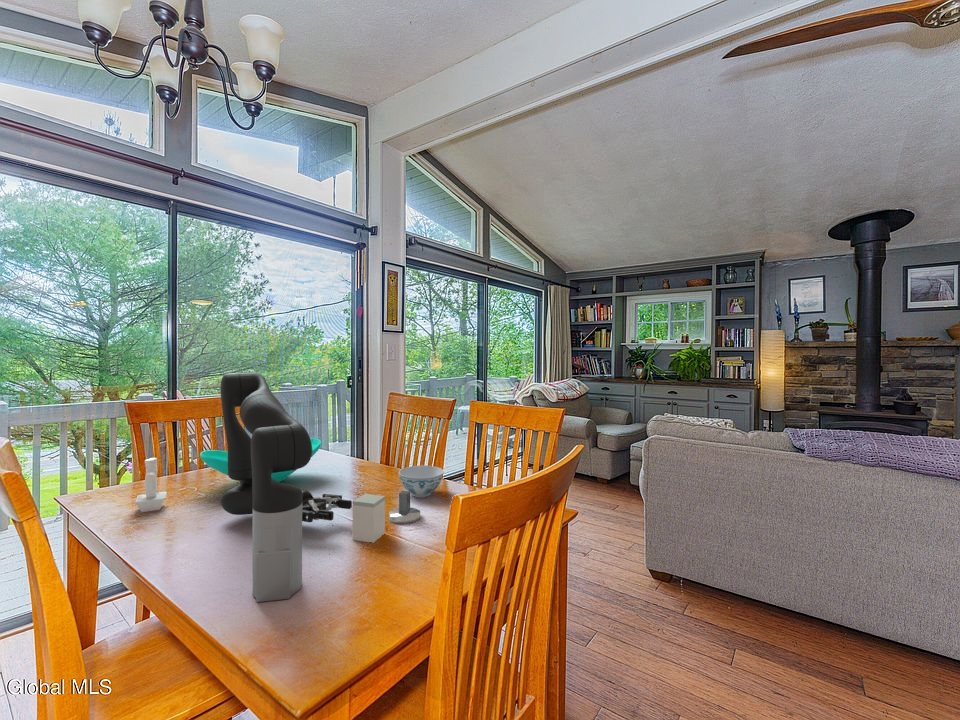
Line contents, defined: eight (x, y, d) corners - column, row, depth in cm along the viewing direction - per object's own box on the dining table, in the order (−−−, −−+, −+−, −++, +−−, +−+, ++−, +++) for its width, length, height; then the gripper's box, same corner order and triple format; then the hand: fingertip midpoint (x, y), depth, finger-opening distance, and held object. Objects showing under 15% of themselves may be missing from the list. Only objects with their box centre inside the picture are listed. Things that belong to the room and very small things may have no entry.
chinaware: (392, 490, 155) (393, 468, 155) (433, 485, 162) (434, 463, 161) (406, 504, 141) (406, 480, 141) (450, 497, 148) (450, 474, 148)
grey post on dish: (412, 525, 125) (412, 499, 125) (382, 521, 127) (383, 495, 127) (425, 514, 134) (425, 489, 133) (397, 510, 136) (397, 486, 136)
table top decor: (209, 506, 137) (209, 463, 136) (192, 484, 157) (191, 447, 157) (334, 482, 163) (335, 445, 163) (306, 466, 184) (306, 433, 183)
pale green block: (373, 542, 114) (373, 503, 113) (352, 539, 115) (352, 501, 115) (384, 533, 119) (385, 496, 119) (364, 530, 121) (365, 493, 121)
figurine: (134, 516, 128) (133, 463, 128) (138, 505, 136) (137, 456, 136) (165, 511, 132) (164, 460, 132) (167, 501, 140) (167, 454, 140)
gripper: (272, 498, 117) (326, 505, 112) (307, 482, 131) (356, 488, 126) (271, 526, 117) (326, 534, 113) (307, 508, 131) (356, 514, 126)
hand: (342, 510), depth 119 cm, fingers open, 8 cm apart
